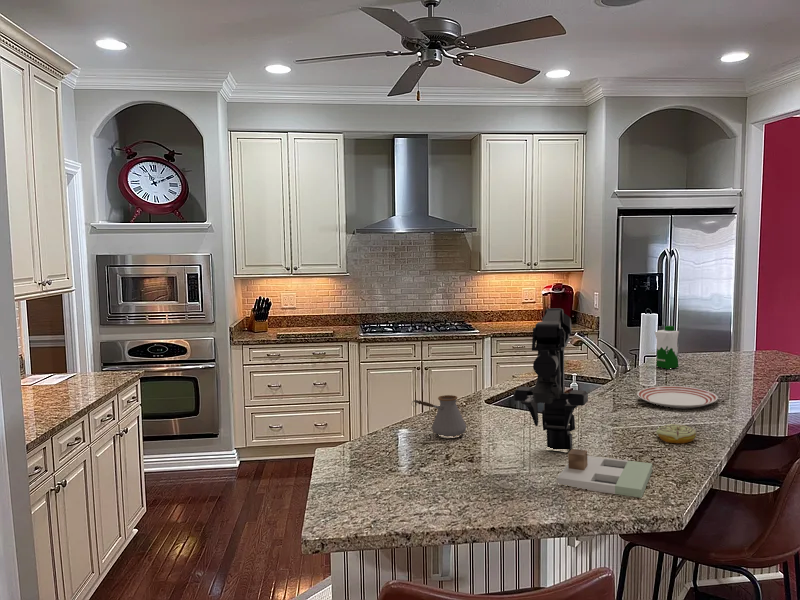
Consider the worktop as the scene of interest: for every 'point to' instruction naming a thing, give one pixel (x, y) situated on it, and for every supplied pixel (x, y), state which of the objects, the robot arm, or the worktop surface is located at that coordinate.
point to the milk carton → (667, 347)
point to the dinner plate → (677, 396)
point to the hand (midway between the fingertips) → (551, 427)
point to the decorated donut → (676, 433)
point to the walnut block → (577, 459)
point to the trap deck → (609, 476)
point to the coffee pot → (446, 416)
